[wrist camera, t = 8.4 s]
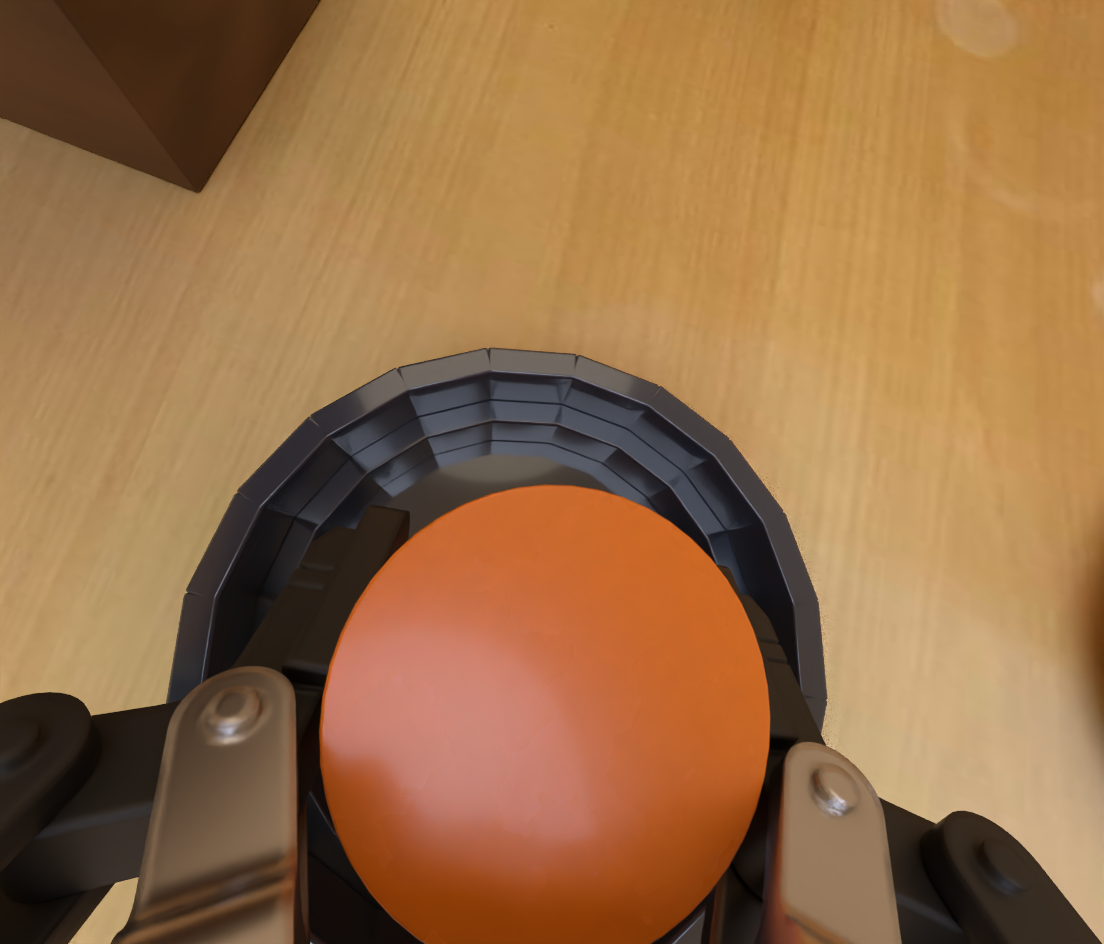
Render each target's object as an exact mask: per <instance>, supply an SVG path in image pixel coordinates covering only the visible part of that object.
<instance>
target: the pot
mask: <svg viewBox="0 0 1104 944" xmlns="http://www.w3.org/2000/svg"><path fill="white" fill-rule="evenodd" d="M545 484H546V485H573V486H579V487H586V488H592V489H598V490H601V491H605V492H608V493H611V494H615V495H618V496H621V497H624V498H627V499H629V500H631V501H633V502H636V503H638V504H640V505H642V506H645V507H647V508H649V509H650V510H652V511H654V512H655V513H657V514H659V515H660V516H662V517H664V518H665V519H667V520H668V521H670V522H671V523H673V524H674V525H675V526H676V527H678V528H679V529H680V530H681V531H683V532H684V533H685V534H687V535H688V536H689V537H690V538H691V539H692V540H693V541H694V542H695V543H696V544H697V545H698V546H699V547H700V548H701V549H702V550H703V551H704V552H705V553H706V554H707V555H708V556H709V557H710V558H711V559H712V560H713V562H714V563H715V564H716V565H722V566H727V567H728V568H729V569H730V570H731V572H732V574H733V577H734V579H735V582H736V584H737V587H738V589H739V591H740V594H742V595H748V596H750V597H751V598H752V599H753V600H754V601H755V603H756V604H757V605H758V606H759V607H760V608H761V610H762V611H763V612H764V613H765V614H766V615H767V616H768V618H769V620H770V622H771V625H772V627H773V629H774V631H775V634H776V636H777V638H778V640H779V641H778V645H781V647H782V649H783V651H784V654H785V656H786V658H787V665H790V667H791V669H792V671H793V674H794V676H795V678H796V680H797V683H798V685H799V687H800V689H801V691H802V694H803V696H804V698H805V700H806V703H807V705H808V707H809V709H810V711H811V714H812V716H813V718H814V720H815V723H816V725H817V727H818V729H819V731H820V734H821V732H822V726H823V721H824V716H825V710H826V705H827V701H826V699H827V689H826V678H825V667H824V657H823V646H822V635H821V624H820V613H819V602H818V601H817V600H818V598H817V596H816V593H815V590H814V588H813V585H812V583H811V580H810V577H809V575H808V572H807V569H806V567H805V564H804V562H803V559H802V556H801V554H800V551H799V548H798V546H797V543H796V541H795V538H794V535H793V533H792V530H791V527H790V525H789V522H788V519H787V517H786V514H785V513H783V510H782V508H781V507H780V506H779V504H778V503H777V501H776V500H775V499H774V497H773V496H772V495H771V493H770V492H769V491H768V489H767V488H766V487H765V485H764V484H763V483H762V481H761V480H760V479H759V477H758V476H757V475H756V473H755V472H754V470H753V469H752V468H751V466H750V465H749V464H748V462H747V461H746V460H745V458H744V457H743V456H742V454H741V453H740V452H739V450H738V449H737V448H736V446H735V445H734V444H733V442H732V441H731V440H729V438H728V437H727V436H726V435H724V434H723V433H722V432H721V431H719V430H718V429H717V428H715V427H714V426H713V425H711V424H710V423H709V422H707V421H706V420H705V419H703V418H702V417H701V416H700V415H698V414H697V413H696V412H694V411H693V410H692V409H690V408H689V407H688V406H686V405H685V404H684V403H683V402H681V401H680V400H679V399H677V398H676V397H675V396H673V395H672V394H671V393H669V392H668V391H667V390H665V389H664V388H663V387H661V386H659V387H658V385H657V384H654V383H652V382H649V381H646V380H644V379H641V378H639V377H636V376H633V375H631V374H628V373H625V372H623V371H620V370H618V369H615V368H612V367H610V366H607V365H605V364H602V363H599V362H597V361H594V360H592V359H589V358H586V357H584V356H581V355H578V356H576V354H568V353H555V352H542V351H529V350H515V349H502V348H489V349H487V348H483V349H479V350H474V351H469V352H465V353H460V354H456V355H451V356H447V357H442V358H438V359H433V360H428V361H424V362H419V363H415V364H410V365H406V366H401V367H399V368H398V369H397V368H394V369H392V370H390V371H388V372H387V373H385V374H383V375H381V376H379V377H378V378H376V379H374V380H372V381H371V382H369V383H367V384H365V385H363V386H362V387H360V388H358V389H356V390H354V391H353V392H351V393H349V394H347V395H345V396H344V397H342V398H340V399H338V400H336V401H335V402H333V403H331V404H329V405H327V406H326V407H324V408H322V409H320V410H318V411H317V412H315V413H313V414H312V415H311V417H308V418H307V419H306V420H305V421H304V422H303V423H302V424H301V425H300V426H299V427H298V428H297V429H296V430H295V431H294V432H293V433H292V434H291V435H290V436H289V437H288V438H287V439H286V440H285V441H284V442H283V444H282V445H281V446H280V447H279V448H278V449H277V450H276V451H275V452H274V453H273V454H272V455H271V456H270V457H269V458H268V459H267V460H266V461H265V462H264V463H263V464H262V465H261V466H260V467H259V468H258V469H257V470H256V471H255V472H254V473H253V474H252V475H251V477H250V478H249V479H248V480H247V481H246V482H245V483H244V484H243V485H242V486H241V487H240V488H239V489H238V490H237V492H238V493H236V494H235V495H234V497H233V499H232V501H231V503H230V505H229V507H228V509H227V511H226V512H225V514H224V516H223V518H222V520H221V522H220V524H219V526H218V528H217V530H216V532H215V534H214V536H213V538H212V540H211V542H210V544H209V546H208V548H207V550H206V552H205V554H204V555H203V557H202V559H201V561H200V563H199V565H198V567H197V569H196V571H195V573H194V575H193V577H192V579H191V581H190V583H189V585H188V587H187V589H186V591H187V592H188V593H186V594H185V595H184V598H183V604H182V610H181V616H180V622H179V628H178V634H177V640H176V646H175V652H174V658H173V664H172V670H171V676H170V682H169V688H168V694H167V700H166V704H167V703H171V702H174V701H177V700H181V699H183V698H185V697H186V696H187V695H188V694H189V693H190V692H191V691H192V690H193V689H195V688H196V687H197V686H198V685H200V684H201V683H203V682H204V681H206V680H207V679H209V678H211V677H213V676H215V675H217V674H219V673H222V672H225V671H227V670H229V669H230V668H231V667H232V666H233V665H234V663H235V662H236V661H237V659H238V658H239V656H240V655H241V653H242V652H243V650H244V649H245V647H246V645H247V644H248V642H249V641H250V639H251V638H252V636H253V635H254V633H255V631H256V630H257V628H258V627H259V625H260V624H261V622H262V621H263V619H264V617H265V616H266V614H267V613H268V611H269V610H270V608H271V606H272V605H273V603H274V602H275V600H276V599H277V597H278V596H279V594H280V592H281V591H282V589H283V588H284V587H286V586H287V581H288V580H289V578H290V577H291V575H292V574H293V572H294V571H295V569H296V568H298V566H299V563H300V561H301V560H302V558H303V557H304V555H305V553H306V552H307V550H308V549H309V547H310V546H311V544H312V542H314V541H315V540H317V539H318V538H319V537H321V536H322V535H324V534H325V533H326V532H328V531H329V530H331V529H332V528H334V527H335V526H339V527H345V528H351V529H356V527H357V525H358V523H359V522H360V520H361V518H362V516H363V514H364V512H365V511H366V509H367V507H368V506H369V505H377V506H383V507H389V508H395V509H401V510H406V511H409V512H410V526H409V539H410V538H411V537H412V536H413V535H414V534H416V533H417V532H418V531H420V530H421V529H423V528H424V527H426V526H427V525H428V524H430V523H431V522H433V521H434V520H436V519H437V518H438V517H440V516H442V515H444V514H446V513H448V512H449V511H451V510H453V509H455V508H457V507H459V506H461V505H463V504H465V503H467V502H470V501H472V500H475V499H478V498H480V497H483V496H486V495H488V494H491V493H495V492H500V491H504V490H508V489H512V488H517V487H525V486H535V485H545ZM307 821H308V868H309V915H310V944H425V943H423V942H421V941H420V940H418V939H417V938H416V937H414V936H413V935H412V934H411V933H410V932H408V931H407V930H406V929H405V928H404V927H402V926H401V925H400V924H399V923H397V922H396V921H395V920H394V919H393V918H392V917H391V916H390V915H389V914H388V913H387V912H386V911H385V909H384V908H383V907H382V906H381V905H380V904H379V903H378V902H377V900H376V899H375V898H374V897H373V896H372V895H371V894H370V893H369V891H368V889H367V888H366V886H365V885H364V883H363V882H362V880H361V879H360V877H359V876H358V874H357V873H356V871H355V870H354V868H353V867H352V865H351V863H350V861H349V859H348V857H347V855H346V852H345V850H344V848H343V846H342V844H341V842H340V840H339V837H338V835H337V833H336V830H335V827H334V824H333V821H332V817H331V814H330V811H329V808H328V804H327V801H326V797H325V791H324V785H323V779H322V773H321V767H320V766H319V769H318V771H317V774H316V776H315V779H314V781H313V784H312V787H311V789H310V792H309V794H308V797H307ZM706 900H707V896H706V897H705V898H704V899H703V900H702V901H701V903H700V904H699V905H698V906H697V907H696V908H695V909H694V910H693V911H692V912H691V913H690V914H689V915H688V916H687V917H686V918H685V919H684V920H682V921H681V922H680V923H679V924H677V925H676V926H675V927H674V928H673V929H671V930H670V931H669V932H668V933H666V934H665V935H664V936H663V937H661V938H659V939H658V940H656V941H654V942H653V943H651V944H700V943H701V936H702V929H703V922H704V914H705V907H706Z"/></svg>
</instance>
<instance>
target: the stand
mask: <svg viewBox="0 0 1104 944" xmlns="http://www.w3.org/2000/svg"><path fill="white" fill-rule="evenodd" d="M318 2H319V0H0V117H3V118H5V119H8V120H10V121H13V122H16V123H18V124H21V125H23V126H26V127H29V128H31V129H34V130H36V131H39V132H42V133H44V134H47V135H49V136H52V137H54V138H57V139H60V140H62V141H65V142H67V143H70V144H73V145H75V146H78V147H80V148H83V149H86V150H88V151H91V152H93V153H96V154H99V155H101V156H104V157H106V158H109V159H112V160H114V161H117V162H119V163H122V164H125V165H127V166H130V167H132V168H135V169H138V170H140V171H143V172H145V173H148V174H151V175H153V176H156V177H158V178H161V179H164V180H166V181H169V182H171V183H174V184H177V185H179V186H182V187H184V188H187V189H190V190H192V191H195V192H199V191H200V190H201V188H202V186H203V185H204V183H205V182H206V180H207V178H208V177H209V175H210V174H211V172H212V170H213V169H214V167H215V166H216V164H217V162H218V161H219V159H220V158H221V156H222V155H223V153H224V151H225V150H226V148H227V147H228V145H229V143H230V142H231V140H232V139H233V137H234V135H235V134H236V132H237V131H238V129H239V127H240V126H241V124H242V123H243V121H244V119H245V118H246V116H247V115H248V113H249V111H250V110H251V108H252V107H253V105H254V104H255V102H256V100H257V99H258V97H259V96H260V94H261V92H262V91H263V89H264V88H265V86H266V84H267V83H268V81H269V80H270V78H271V76H272V75H273V73H274V72H275V70H276V68H277V67H278V65H279V64H280V62H281V60H282V59H283V57H284V56H285V54H286V53H287V51H288V49H289V48H290V46H291V45H292V43H293V41H294V40H295V38H296V37H297V35H298V33H299V32H300V30H301V29H302V27H303V25H304V24H305V22H306V21H307V19H308V17H309V16H310V14H311V13H312V11H313V9H314V8H315V6H316V5H317V3H318Z"/></svg>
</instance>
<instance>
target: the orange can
mask: <svg viewBox="0 0 1104 944" xmlns="http://www.w3.org/2000/svg"><path fill="white" fill-rule="evenodd" d="M769 739H770V707H769V694H768V684H767V679H766V674H765V669H764V664H763V659H762V655H761V652H760V649H759V646H758V643H757V639H756V636H755V633H754V630H753V628H752V625H751V623H750V621H749V619H748V617H747V614H746V612H745V610H744V608H743V605H742V603H741V602H740V600H739V598H738V597H737V595H736V593H735V592H734V590H733V588H732V587H731V585H730V583H729V582H728V580H727V579H726V577H725V576H724V575H723V573H722V572H721V571H720V570H719V568H718V567H717V566H716V564H715V563H714V562H713V560H712V559H711V558H710V557H709V556H708V555H707V554H706V553H705V552H704V551H703V550H702V549H701V548H700V547H699V546H698V545H697V544H696V543H695V542H694V541H693V540H692V539H691V538H690V537H689V536H688V535H687V534H685V533H684V532H683V531H681V530H680V529H679V528H678V527H676V526H675V525H674V524H673V523H671V522H670V521H668V520H667V519H665V518H664V517H662V516H660V515H659V514H657V513H655V512H654V511H652V510H650V509H649V508H647V507H645V506H642V505H640V504H638V503H636V502H633V501H631V500H629V499H627V498H624V497H621V496H618V495H615V494H611V493H608V492H605V491H601V490H598V489H592V488H586V487H579V486H573V485H546V484H545V485H535V486H525V487H517V488H512V489H508V490H504V491H500V492H495V493H491V494H488V495H486V496H483V497H480V498H478V499H475V500H472V501H470V502H467V503H465V504H463V505H461V506H459V507H457V508H455V509H453V510H451V511H449V512H448V513H446V514H444V515H442V516H440V517H438V518H437V519H436V520H434V521H433V522H431V523H430V524H428V525H427V526H426V527H424V528H423V529H421V530H420V531H418V532H417V533H416V534H414V535H413V536H412V537H411V538H410V539H409V540H408V541H407V542H406V543H405V544H403V545H402V546H401V547H400V548H399V549H398V550H397V551H396V552H395V553H394V554H393V555H392V556H391V557H390V558H389V559H388V560H387V562H386V563H385V564H384V565H383V566H382V567H381V569H380V570H379V571H378V572H377V573H376V574H375V575H374V577H373V578H372V579H371V581H370V582H369V584H368V585H367V587H366V588H365V590H364V591H363V593H362V594H361V596H360V597H359V599H358V600H357V602H356V603H355V605H354V607H353V609H352V611H351V613H350V615H349V617H348V619H347V621H346V623H345V625H344V627H343V629H342V631H341V633H340V636H339V639H338V642H337V645H336V647H335V650H334V653H333V656H332V659H331V661H330V664H329V669H328V673H327V678H326V682H325V687H324V691H323V696H322V705H321V716H320V726H319V743H320V767H321V773H322V779H323V785H324V791H325V797H326V801H327V804H328V808H329V811H330V814H331V817H332V821H333V824H334V827H335V830H336V833H337V835H338V837H339V840H340V842H341V844H342V846H343V848H344V850H345V852H346V855H347V857H348V859H349V861H350V863H351V865H352V867H353V868H354V870H355V871H356V873H357V874H358V876H359V877H360V879H361V880H362V882H363V883H364V885H365V886H366V888H367V889H368V891H369V893H370V894H371V895H372V896H373V897H374V898H375V899H376V900H377V902H378V903H379V904H380V905H381V906H382V907H383V908H384V909H385V911H386V912H387V913H388V914H389V915H390V916H391V917H392V918H393V919H394V920H395V921H396V922H397V923H399V924H400V925H401V926H402V927H404V928H405V929H406V930H407V931H408V932H410V933H411V934H412V935H413V936H414V937H416V938H417V939H418V940H420V941H421V942H423V943H425V944H651V943H653V942H654V941H656V940H658V939H659V938H661V937H663V936H664V935H665V934H666V933H668V932H669V931H670V930H671V929H673V928H674V927H675V926H676V925H677V924H679V923H680V922H681V921H682V920H684V919H685V918H686V917H687V916H688V915H689V914H690V913H691V912H692V911H693V910H694V909H695V908H696V907H697V906H698V905H699V904H700V903H701V901H702V900H703V899H704V898H705V897H706V896H707V895H708V894H709V893H710V892H711V890H712V889H713V888H714V886H715V885H716V884H717V882H718V881H719V879H720V878H721V877H722V875H723V874H724V872H725V871H726V870H727V868H728V867H729V865H730V864H731V862H732V860H733V858H734V856H735V854H736V853H737V851H738V849H739V847H740V845H741V843H742V842H743V840H744V838H745V836H746V833H747V831H748V828H749V826H750V823H751V821H752V818H753V816H754V813H755V811H756V808H757V804H758V801H759V797H760V793H761V789H762V786H763V782H764V778H765V772H766V765H767V759H768V752H769Z"/></svg>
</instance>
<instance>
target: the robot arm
mask: <svg viewBox="0 0 1104 944" xmlns="http://www.w3.org/2000/svg"><path fill="white" fill-rule="evenodd" d="M409 526H410V512H409V511H406V510H401V509H395V508H389V507H383V506H377V505H369V506H368V507H367V509H366V511H365V512H364V514H363V516H362V518H361V520H360V522H359V523H358V525H357V527H356V529H351V528H345V527H339V526H335V527H334V528H332V529H331V530H329V531H328V532H326V533H325V534H324V535H322V536H321V537H319V538H318V539H317V540H315V541H314V542H312V544H311V546H310V547H309V549H308V550H307V552H306V553H305V555H304V557H303V558H302V560H301V561H300V563H299V566H298V568H296V569H295V571H294V572H293V574H292V575H291V577H290V578H289V580H288V581H287V586H286V587H284V588H283V589H282V591H281V592H280V594H279V596H278V597H277V599H276V600H275V602H274V603H273V605H272V606H271V608H270V610H269V611H268V613H267V614H266V616H265V617H264V619H263V621H262V622H261V624H260V625H259V627H258V628H257V630H256V631H255V633H254V635H253V636H252V638H251V639H250V641H249V642H248V644H247V645H246V647H245V649H244V650H243V652H242V653H241V655H240V656H239V658H238V659H237V661H236V662H235V663H234V665H233V666H232V667H231V668H230V669H229V670H227V671H225V672H222V673H219V674H217V675H215V676H213V677H211V678H209V679H207V680H206V681H204V682H203V683H201V684H200V685H198V686H197V687H196V688H195V689H193V690H192V691H191V692H190V693H189V694H188V695H187V696H186V697H185V698H183V699H181V700H177V701H174V702H171V703H167V704H162V705H157V706H151V707H144V708H138V709H132V710H125V711H119V712H113V713H106V714H100V715H93V716H91V715H90V713H89V711H88V709H87V707H86V706H85V704H84V703H83V702H82V701H80V700H79V699H78V698H76V697H73V696H71V695H68V694H63V693H53V692H46V693H35V694H30V695H25V696H21V697H17V698H14V699H11V700H8V701H5V702H2V703H0V944H68V943H69V942H70V941H71V939H72V938H73V937H74V935H75V934H76V933H77V932H78V930H79V929H80V928H81V926H82V925H83V924H84V923H85V921H86V920H87V919H88V917H89V916H90V915H91V913H92V912H93V911H94V910H95V908H96V907H97V906H98V904H99V903H100V902H101V901H102V899H103V898H104V897H105V895H106V894H107V893H108V892H109V890H110V889H111V888H112V886H113V885H114V884H115V883H116V882H120V881H124V880H128V879H132V878H136V877H139V880H138V885H137V890H136V895H135V900H134V904H133V908H132V911H131V914H130V917H129V919H128V922H127V923H126V925H125V927H124V928H123V929H122V930H121V931H120V932H118V933H117V934H116V936H115V937H114V938H113V940H112V942H111V944H310V915H309V868H308V821H307V797H308V794H309V792H310V789H311V787H312V784H313V781H314V779H315V776H316V774H317V771H318V769H319V766H320V743H319V726H320V716H321V705H322V696H323V691H324V687H325V682H326V678H327V673H328V669H329V664H330V661H331V659H332V656H333V653H334V650H335V647H336V645H337V642H338V639H339V636H340V633H341V631H342V629H343V627H344V625H345V623H346V621H347V619H348V617H349V615H350V613H351V611H352V609H353V607H354V605H355V603H356V602H357V600H358V599H359V597H360V596H361V594H362V593H363V591H364V590H365V588H366V587H367V585H368V584H369V582H370V581H371V579H372V578H373V577H374V575H375V574H376V573H377V572H378V571H379V570H380V569H381V567H382V566H383V565H384V564H385V563H386V562H387V560H388V559H389V558H390V557H391V556H392V555H393V554H394V553H395V552H396V551H397V550H398V549H399V548H400V547H401V546H402V545H403V544H405V543H406V542H407V541H408V540H409ZM716 566H717V567H718V568H719V570H720V571H721V572H722V573H723V575H724V576H725V577H726V579H727V580H728V582H729V583H730V585H731V587H732V588H733V590H734V592H735V593H736V595H737V597H738V598H739V600H740V602H741V603H742V605H743V608H744V610H745V612H746V614H747V617H748V619H749V621H750V623H751V625H752V628H753V630H754V633H755V636H756V639H757V643H758V646H759V649H760V652H761V655H762V659H763V664H764V669H765V674H766V679H767V684H768V694H769V707H770V739H769V752H768V759H767V765H766V772H765V778H764V782H763V786H762V789H761V793H760V797H759V801H758V804H757V808H756V811H755V813H754V816H753V818H752V821H751V823H750V826H749V828H748V831H747V833H746V836H745V838H744V840H743V842H742V843H741V845H740V847H739V849H738V851H737V853H736V854H735V856H734V858H733V860H732V862H731V864H730V865H729V867H728V868H727V870H726V871H725V872H724V874H723V875H722V877H721V878H720V879H719V881H718V882H717V884H716V885H715V886H714V888H713V889H712V890H711V892H710V893H709V894H708V895H707V900H706V907H705V914H704V922H703V929H702V936H701V943H700V944H1102V943H1101V942H1100V940H1099V939H1098V938H1097V937H1096V935H1095V934H1094V933H1093V932H1092V930H1091V929H1090V928H1089V927H1088V925H1087V924H1086V923H1085V922H1084V920H1083V919H1082V918H1081V916H1080V915H1079V914H1078V913H1077V911H1076V910H1075V909H1074V908H1073V906H1072V905H1071V904H1070V903H1069V901H1068V900H1067V899H1066V898H1065V896H1064V895H1063V894H1062V893H1061V891H1060V890H1059V889H1058V887H1057V886H1056V885H1055V884H1054V882H1053V881H1052V880H1051V879H1050V877H1049V876H1048V875H1047V874H1046V872H1045V871H1044V870H1043V869H1042V867H1041V866H1040V865H1039V863H1038V862H1037V861H1036V860H1035V859H1034V858H1033V856H1032V855H1031V854H1030V853H1029V852H1028V851H1027V850H1026V849H1025V848H1024V847H1023V846H1022V845H1021V844H1020V843H1019V842H1018V841H1017V840H1016V839H1015V838H1014V837H1013V836H1011V835H1010V834H1009V833H1008V832H1006V831H1005V830H1004V829H1003V828H1001V827H1000V826H998V825H997V824H995V823H994V822H992V821H990V820H988V819H986V818H985V817H983V816H980V815H978V814H975V813H972V812H968V811H956V812H952V813H951V814H949V815H948V816H946V817H945V818H944V819H942V820H941V821H940V822H938V823H937V824H935V823H933V822H931V821H929V820H926V819H924V818H922V817H920V816H918V815H916V814H913V813H911V812H909V811H907V810H905V809H903V808H900V807H898V806H896V805H894V804H892V803H890V802H887V801H885V800H883V799H881V798H879V797H878V796H877V794H876V792H875V790H874V788H873V787H872V785H871V784H870V782H869V781H868V780H867V778H866V777H865V776H864V775H863V773H862V772H861V771H860V770H859V769H858V768H857V767H856V766H855V765H854V764H853V763H852V762H850V761H849V760H848V759H847V758H846V757H844V756H843V755H841V754H840V753H839V752H837V751H835V750H833V749H832V748H829V747H827V746H826V744H825V742H824V740H823V738H822V736H821V734H820V731H819V729H818V727H817V725H816V723H815V720H814V718H813V716H812V714H811V711H810V709H809V707H808V705H807V703H806V700H805V698H804V696H803V694H802V691H801V689H800V687H799V685H798V683H797V680H796V678H795V676H794V674H793V671H792V669H791V667H790V665H787V658H786V656H785V654H784V651H783V649H782V647H781V645H778V641H779V640H778V638H777V636H776V634H775V631H774V629H773V627H772V625H771V622H770V620H769V618H768V616H767V615H766V614H765V613H764V612H763V611H762V610H761V608H760V607H759V606H758V605H757V604H756V603H755V601H754V600H753V599H752V598H751V597H750V596H748V595H742V594H740V591H739V589H738V587H737V584H736V582H735V579H734V577H733V574H732V572H731V570H730V569H729V568H728V567H727V566H722V565H716Z"/></svg>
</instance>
